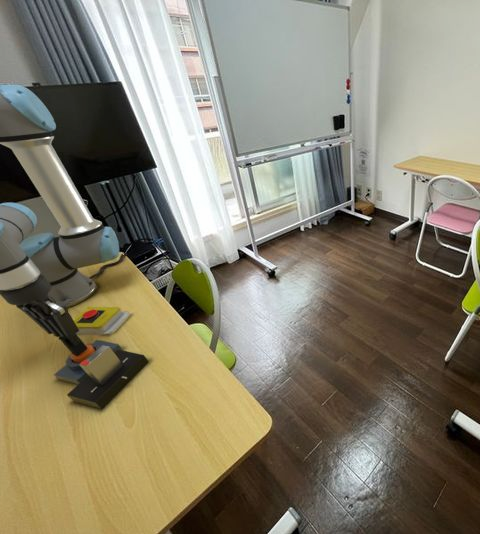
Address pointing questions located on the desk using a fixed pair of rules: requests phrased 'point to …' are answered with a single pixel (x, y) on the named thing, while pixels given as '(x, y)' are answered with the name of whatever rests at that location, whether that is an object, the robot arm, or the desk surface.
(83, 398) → the cooker panel
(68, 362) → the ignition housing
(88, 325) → the emergency button
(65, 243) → the robot arm
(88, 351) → the push knob
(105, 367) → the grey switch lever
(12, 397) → the desk surface
